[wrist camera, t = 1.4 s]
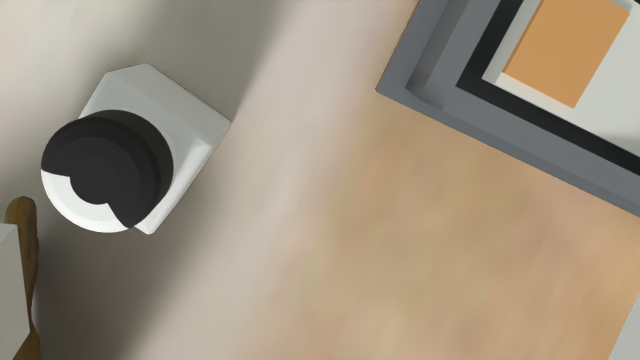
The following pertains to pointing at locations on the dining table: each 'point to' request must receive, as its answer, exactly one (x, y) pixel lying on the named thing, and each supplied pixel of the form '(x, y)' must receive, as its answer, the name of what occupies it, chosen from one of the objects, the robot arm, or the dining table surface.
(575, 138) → the box
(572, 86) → the rocker
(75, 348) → the dining table surface
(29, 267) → the brown cowboy hat
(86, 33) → the dining table surface
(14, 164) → the dining table surface
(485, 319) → the dining table surface
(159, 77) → the medicine bottle
